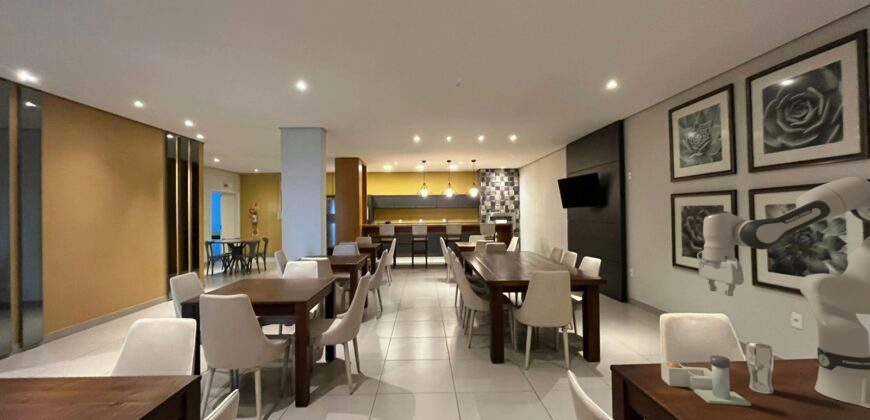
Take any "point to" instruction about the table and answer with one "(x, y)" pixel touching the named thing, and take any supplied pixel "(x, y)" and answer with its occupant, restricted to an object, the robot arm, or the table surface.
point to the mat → (710, 398)
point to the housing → (687, 376)
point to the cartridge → (720, 376)
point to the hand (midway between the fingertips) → (720, 293)
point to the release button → (673, 365)
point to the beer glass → (760, 366)
